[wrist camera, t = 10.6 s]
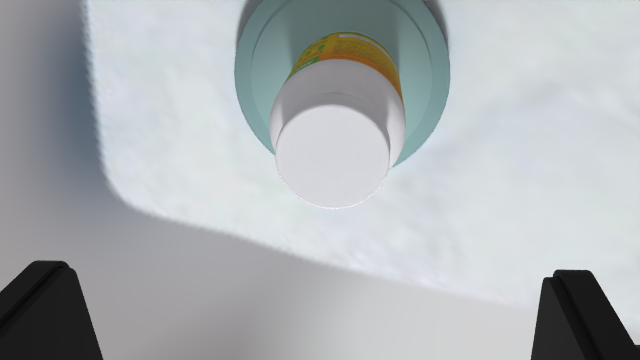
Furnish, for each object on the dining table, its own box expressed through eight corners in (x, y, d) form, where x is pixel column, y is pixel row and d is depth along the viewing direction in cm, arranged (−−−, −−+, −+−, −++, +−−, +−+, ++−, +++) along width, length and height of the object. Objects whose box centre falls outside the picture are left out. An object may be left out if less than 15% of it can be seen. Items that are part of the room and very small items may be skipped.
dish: (453, -42, 25) (456, -41, 24) (443, 170, 29) (445, 179, 28) (225, -29, 26) (219, -27, 25) (251, 172, 31) (246, 181, 30)
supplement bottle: (320, 9, 25) (290, 52, 16) (419, 59, 26) (441, 126, 17) (277, 106, 27) (231, 189, 19) (369, 149, 28) (365, 249, 19)
